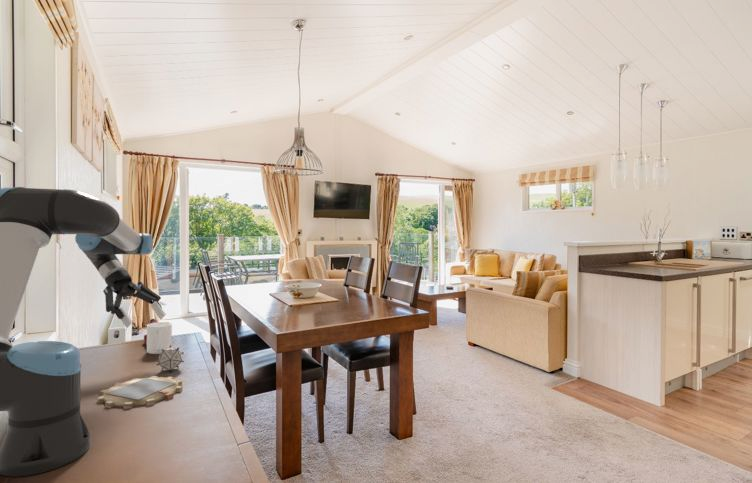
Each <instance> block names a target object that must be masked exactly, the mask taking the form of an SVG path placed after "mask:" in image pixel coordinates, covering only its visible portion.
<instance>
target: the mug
mask: <svg viewBox="0 0 752 483" xmlns="http://www.w3.org/2000/svg"><path fill="white" fill-rule="evenodd" d="M172 324H173V323H172V322H168V321H160V322H159V321H157V323H151V324H150V323H148V324H147V325H146V335H147V346H146V352H147V354H149V355H160V354H161V353H162V352H163V351H162V349H163V350H166V349H168V348H170V345H171V347H173V346H172V339H173V338H172V337H173V336H172V335H173V334H172V332H173V331H172V330H173V328H172V327H173V325H172Z"/></svg>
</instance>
